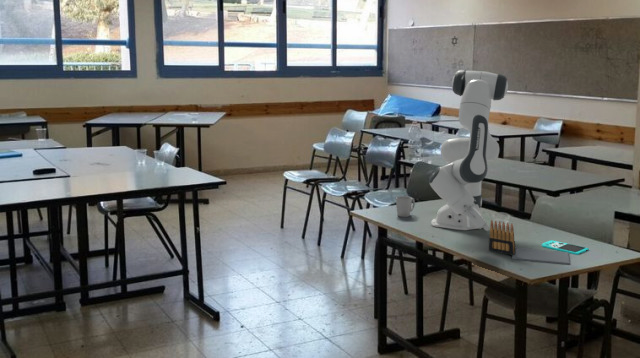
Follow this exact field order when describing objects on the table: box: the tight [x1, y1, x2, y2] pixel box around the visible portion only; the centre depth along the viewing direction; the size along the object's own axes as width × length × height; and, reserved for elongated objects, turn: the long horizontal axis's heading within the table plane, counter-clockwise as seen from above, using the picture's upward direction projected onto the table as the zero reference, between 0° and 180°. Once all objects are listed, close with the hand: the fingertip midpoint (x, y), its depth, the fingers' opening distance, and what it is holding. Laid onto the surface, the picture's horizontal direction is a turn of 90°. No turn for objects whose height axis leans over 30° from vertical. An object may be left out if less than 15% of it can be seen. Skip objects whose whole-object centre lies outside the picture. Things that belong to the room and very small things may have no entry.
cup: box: [395, 195, 416, 218], centre depth 315 cm, size 8×10×8 cm
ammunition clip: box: [488, 219, 516, 256], centre depth 256 cm, size 11×2×12 cm, turn 41°
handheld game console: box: [541, 239, 590, 256], centre depth 264 cm, size 10×16×1 cm, turn 43°
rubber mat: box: [511, 247, 571, 265], centre depth 253 cm, size 20×14×1 cm
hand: (487, 228), depth 256 cm, fingers closed
